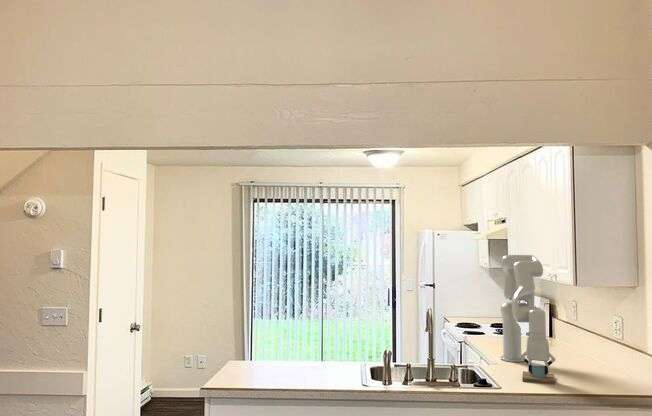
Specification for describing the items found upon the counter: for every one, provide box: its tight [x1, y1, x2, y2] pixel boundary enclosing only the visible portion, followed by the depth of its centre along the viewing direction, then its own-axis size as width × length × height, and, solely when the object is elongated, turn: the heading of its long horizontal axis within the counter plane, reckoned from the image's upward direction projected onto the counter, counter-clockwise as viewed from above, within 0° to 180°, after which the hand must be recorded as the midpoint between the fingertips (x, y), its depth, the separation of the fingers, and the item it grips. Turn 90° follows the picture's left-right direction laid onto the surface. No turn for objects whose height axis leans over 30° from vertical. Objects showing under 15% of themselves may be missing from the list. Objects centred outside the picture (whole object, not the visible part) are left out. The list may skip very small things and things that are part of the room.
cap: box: [531, 363, 545, 378], centre depth 242 cm, size 6×6×5 cm
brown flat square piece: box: [521, 371, 556, 386], centre depth 242 cm, size 14×14×2 cm
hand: (538, 373), depth 242 cm, fingers closed on cap, 6 cm apart
